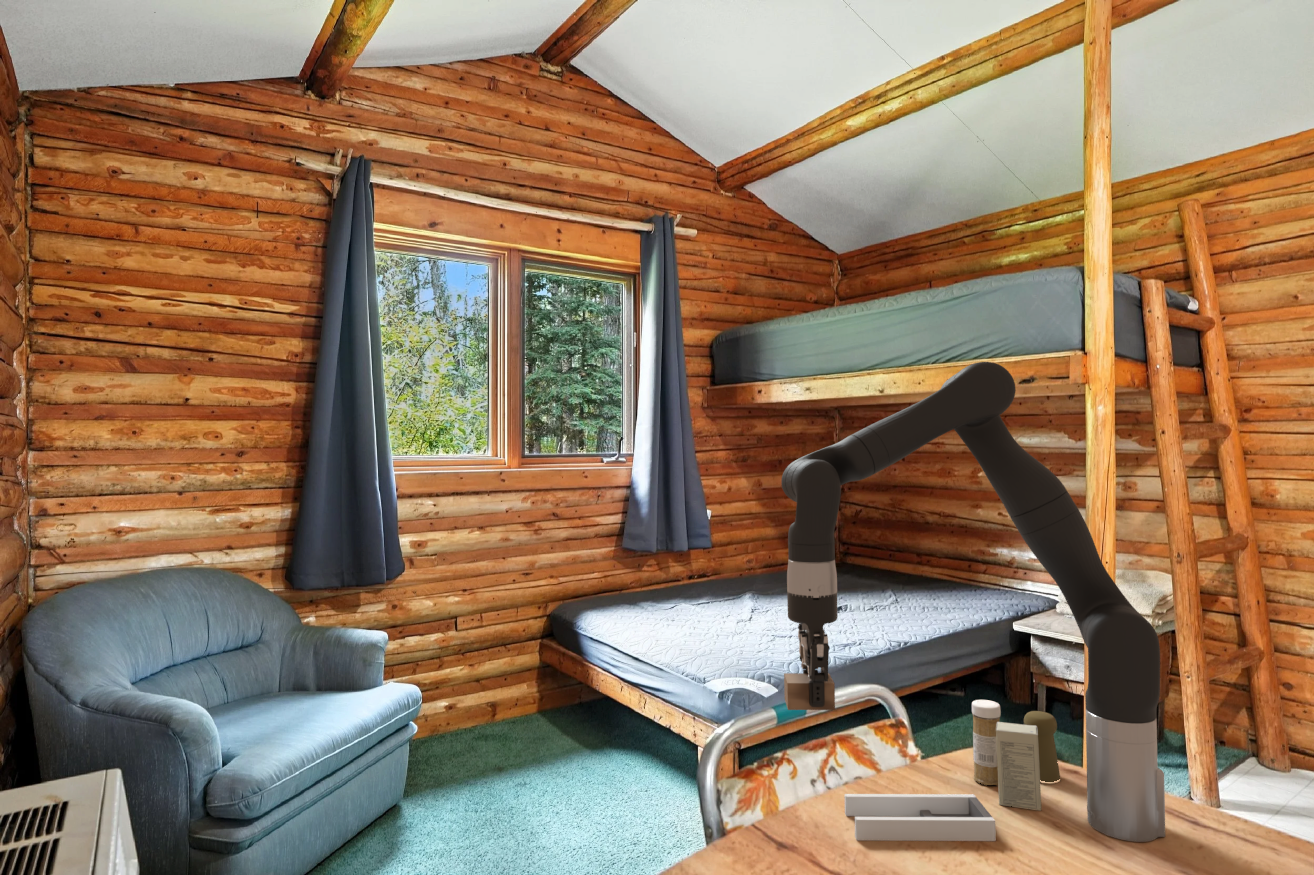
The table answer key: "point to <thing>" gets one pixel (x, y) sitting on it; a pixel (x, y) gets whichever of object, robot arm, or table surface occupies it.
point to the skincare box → (1018, 765)
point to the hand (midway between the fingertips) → (813, 699)
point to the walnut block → (806, 692)
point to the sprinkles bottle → (985, 741)
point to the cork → (1045, 744)
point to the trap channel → (936, 822)
